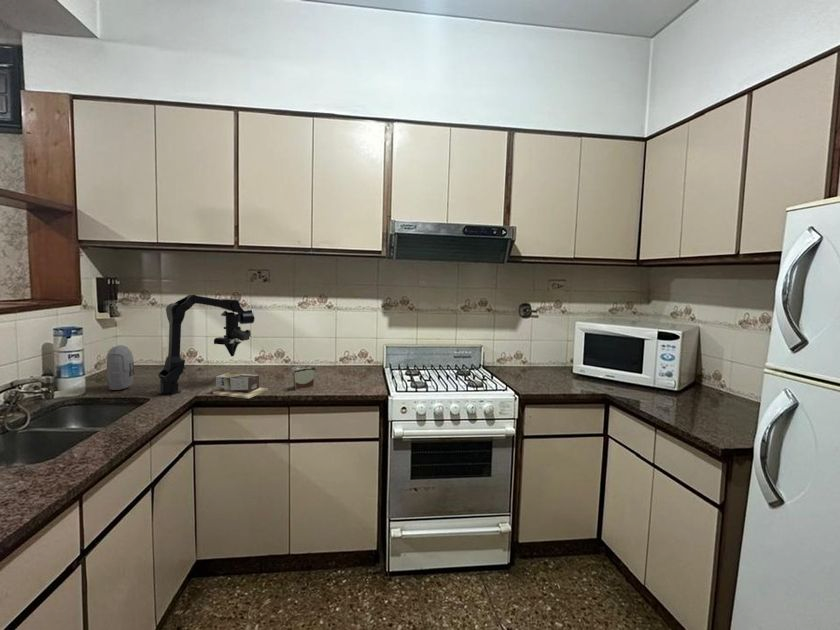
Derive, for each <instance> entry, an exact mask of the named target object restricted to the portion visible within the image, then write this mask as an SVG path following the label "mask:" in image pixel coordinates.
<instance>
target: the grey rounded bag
mask: <svg viewBox="0 0 840 630" xmlns="http://www.w3.org/2000/svg"><path fill="white" fill-rule="evenodd" d="M105 372H106V380H107V384H108V388H109V390H112V391H113V390H114V391H116V390H117V391H119V390H124V389H127V388H129V387H131V386H132V384H133V380H134V375H135V361H134V356H133V352H132V351H131V350H130V348H129V347H128V346H125V345H123V344H122V345H121V344H119V345H116V346H112V347H111V348H109V351H108V353H107V361H106V369H105Z"/></svg>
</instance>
